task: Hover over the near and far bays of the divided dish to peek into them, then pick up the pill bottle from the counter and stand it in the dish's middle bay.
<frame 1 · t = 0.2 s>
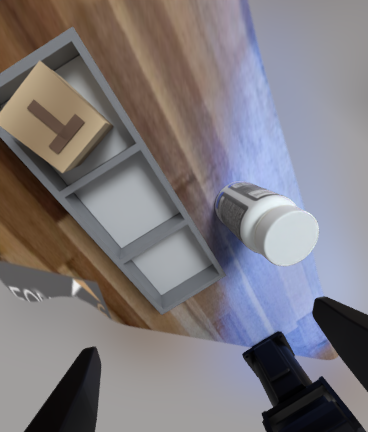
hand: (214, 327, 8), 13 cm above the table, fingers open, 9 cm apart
pill bottle: (235, 202, 21), on the table
bay dish: (130, 199, 19), on the table
letter cube: (73, 125, 15), point 1 cm above the table, touching bay dish
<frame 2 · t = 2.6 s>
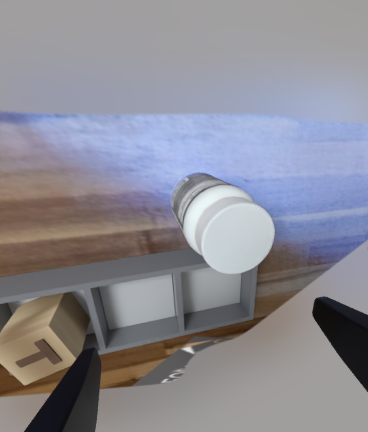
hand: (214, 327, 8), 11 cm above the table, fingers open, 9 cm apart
pill bottle: (195, 198, 18), on the table
bay dish: (138, 290, 20), on the table
letter cube: (56, 312, 18), point 1 cm above the table, touching bay dish
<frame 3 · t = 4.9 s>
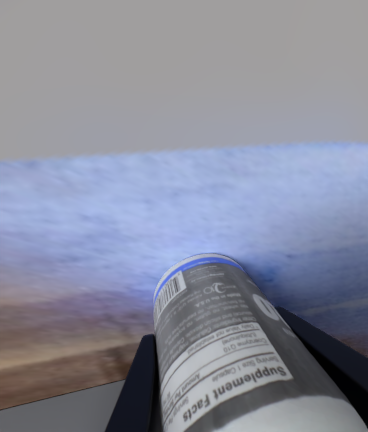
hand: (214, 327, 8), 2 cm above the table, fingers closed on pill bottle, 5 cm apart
pill bottle: (200, 290, 10), on the table, touching gripper
bay dish: (109, 427, 12), on the table
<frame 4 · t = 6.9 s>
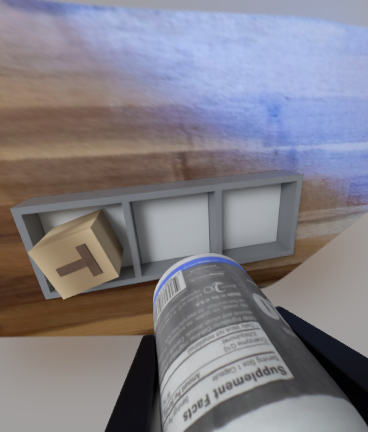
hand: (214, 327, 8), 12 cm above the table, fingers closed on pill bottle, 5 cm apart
pill bottle: (200, 289, 10), point 9 cm above the table, touching gripper
bay dish: (172, 222, 19), on the table
letter cube: (90, 238, 17), point 1 cm above the table, touching bay dish
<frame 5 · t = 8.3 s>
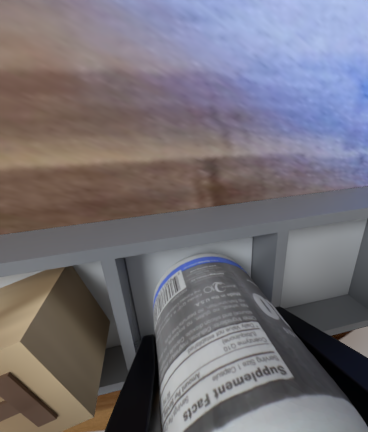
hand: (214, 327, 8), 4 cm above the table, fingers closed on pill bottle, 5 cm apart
pill bottle: (200, 289, 10), point 2 cm above the table, touching gripper
bay dish: (190, 272, 12), on the table
letter cube: (50, 309, 10), point 1 cm above the table, touching bay dish
when the fingers open (4 cm above the table, at t = 9.0 s): pill bottle stays where it is, resting on bay dish.
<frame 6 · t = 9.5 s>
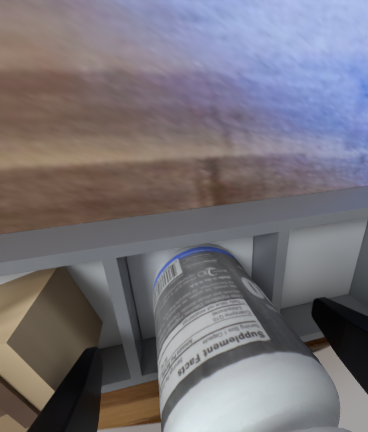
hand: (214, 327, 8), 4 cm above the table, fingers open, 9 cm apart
pill bottle: (196, 278, 11), point 1 cm above the table, touching bay dish
bay dish: (191, 272, 12), on the table
letter cube: (43, 310, 10), point 1 cm above the table, touching bay dish, gripper
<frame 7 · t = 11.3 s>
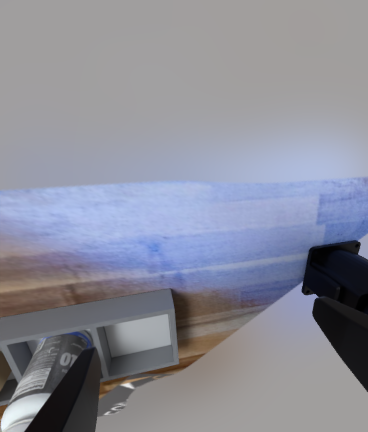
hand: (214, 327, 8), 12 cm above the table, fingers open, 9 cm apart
pill bottle: (67, 341, 21), point 1 cm above the table, touching bay dish
bay dish: (69, 335, 21), on the table
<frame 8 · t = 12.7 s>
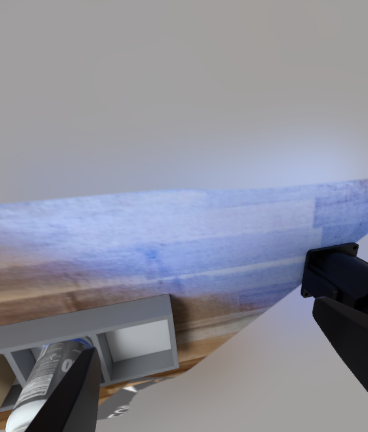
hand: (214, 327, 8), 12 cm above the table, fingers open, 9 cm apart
pill bottle: (70, 347, 21), point 1 cm above the table, touching bay dish
bay dish: (71, 341, 22), on the table
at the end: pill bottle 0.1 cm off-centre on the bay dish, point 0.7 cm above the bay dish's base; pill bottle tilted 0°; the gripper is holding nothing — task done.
